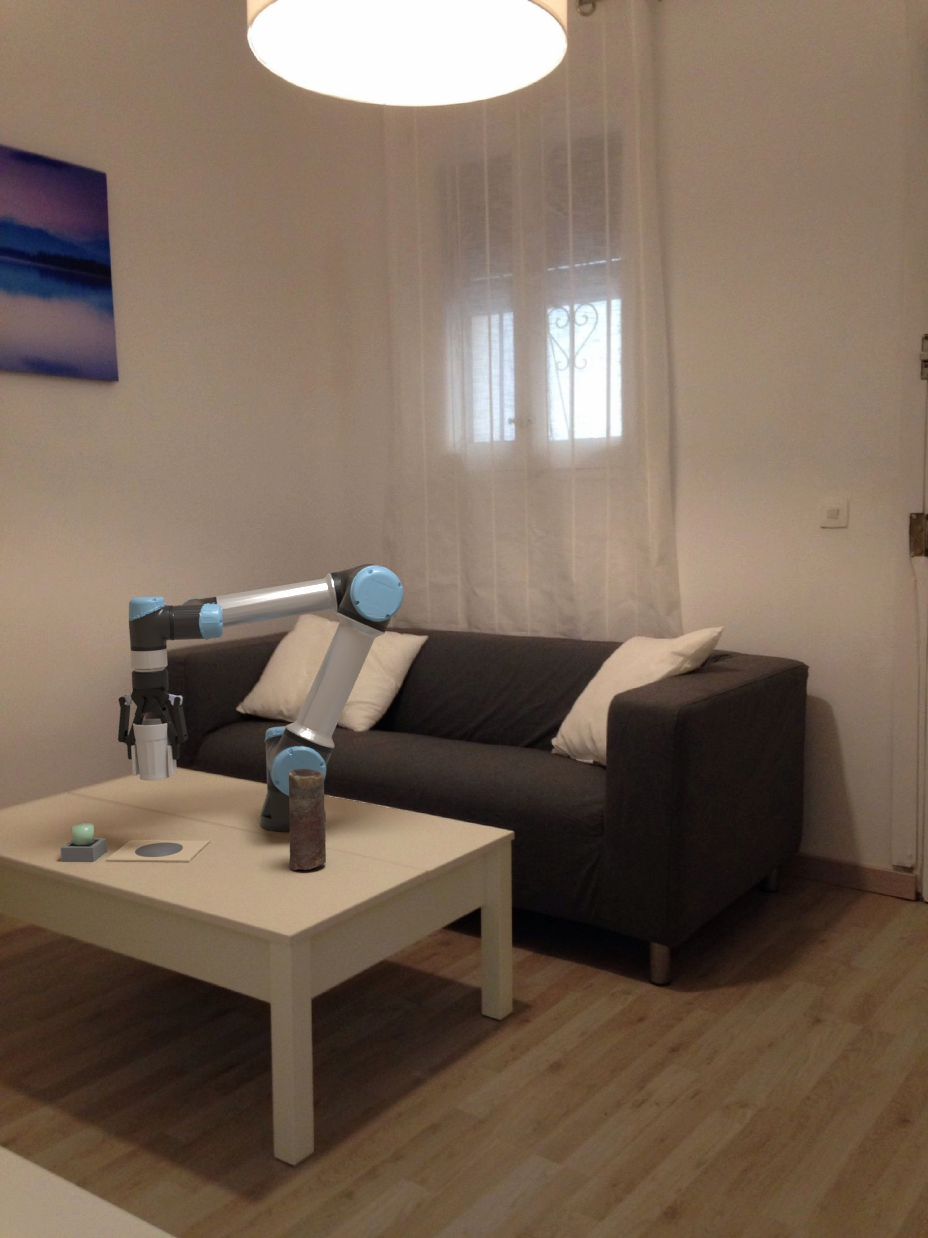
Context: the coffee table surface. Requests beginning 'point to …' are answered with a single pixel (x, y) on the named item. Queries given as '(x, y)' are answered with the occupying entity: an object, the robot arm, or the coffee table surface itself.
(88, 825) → the button
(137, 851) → the sheet
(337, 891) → the coffee table surface
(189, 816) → the coffee table surface
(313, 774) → the brown tall cylinder
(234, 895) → the coffee table surface
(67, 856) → the button housing
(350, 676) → the robot arm
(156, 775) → the cup
